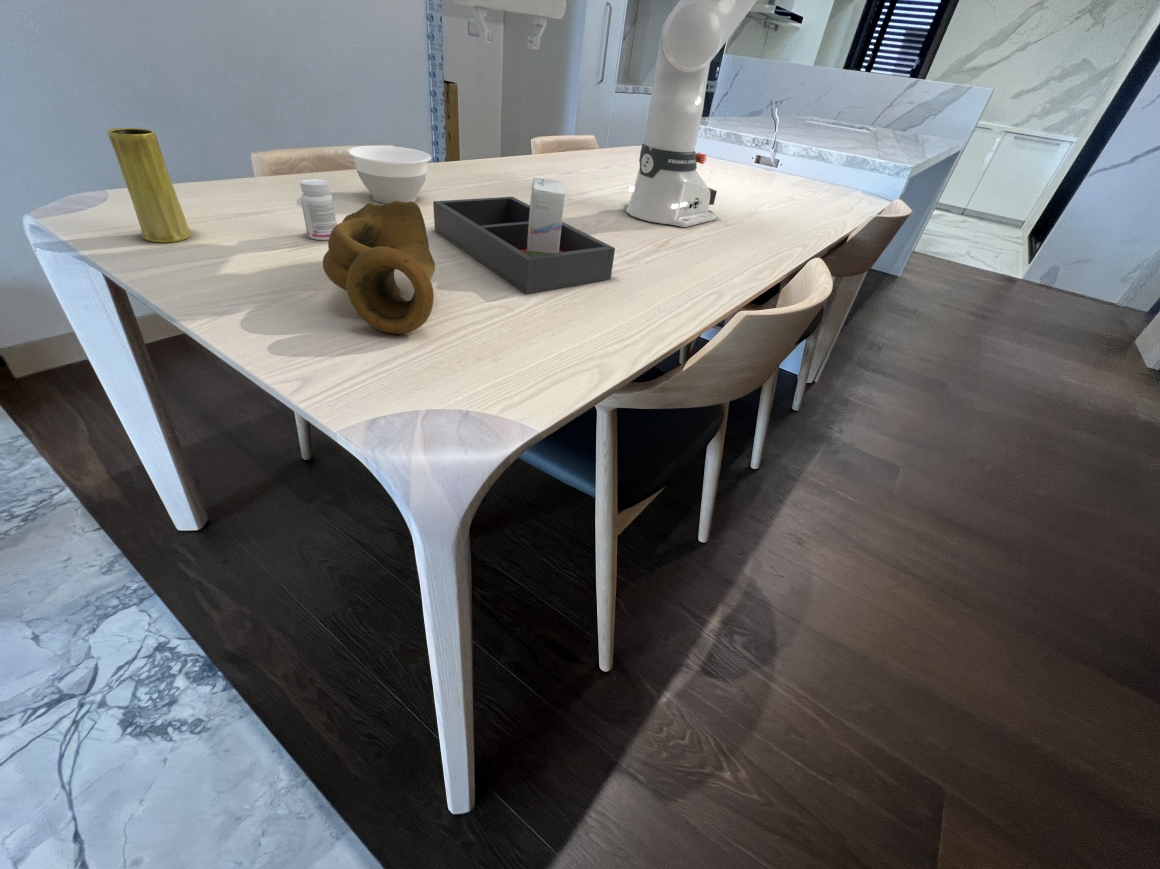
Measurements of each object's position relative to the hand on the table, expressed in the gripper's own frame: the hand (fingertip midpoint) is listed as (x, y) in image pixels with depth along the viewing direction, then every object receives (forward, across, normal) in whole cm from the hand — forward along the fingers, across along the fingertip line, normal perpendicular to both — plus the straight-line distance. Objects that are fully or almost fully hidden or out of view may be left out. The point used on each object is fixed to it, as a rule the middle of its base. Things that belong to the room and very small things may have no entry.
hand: (510, 46), depth 91 cm
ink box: (+28, +8, +24) cm, 38 cm away
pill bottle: (+29, +36, 0) cm, 46 cm away
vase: (+29, +56, -6) cm, 64 cm away
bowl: (+29, +15, -20) cm, 38 cm away
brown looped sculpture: (+29, +36, +27) cm, 53 cm away
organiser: (+29, +9, +18) cm, 35 cm away
